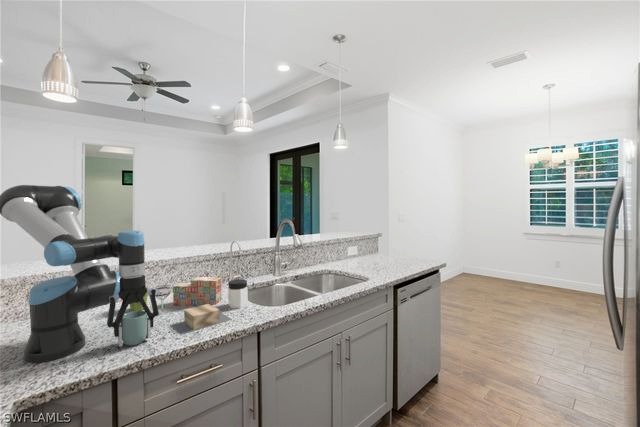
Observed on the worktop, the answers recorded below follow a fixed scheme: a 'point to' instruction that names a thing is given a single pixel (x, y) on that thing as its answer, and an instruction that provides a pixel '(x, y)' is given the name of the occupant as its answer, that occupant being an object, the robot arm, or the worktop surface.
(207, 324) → the oak riser
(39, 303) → the robot arm
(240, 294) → the jar
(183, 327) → the base board
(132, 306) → the plant pot
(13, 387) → the worktop surface
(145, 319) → the cup
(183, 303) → the stack of blocks
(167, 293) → the wineglass
